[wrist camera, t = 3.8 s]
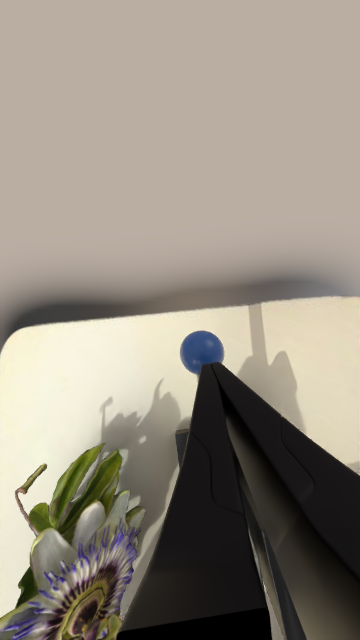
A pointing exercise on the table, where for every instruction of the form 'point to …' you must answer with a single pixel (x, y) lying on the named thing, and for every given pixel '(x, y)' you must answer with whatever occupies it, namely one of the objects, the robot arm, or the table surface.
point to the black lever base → (261, 553)
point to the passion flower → (77, 557)
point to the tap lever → (194, 354)
